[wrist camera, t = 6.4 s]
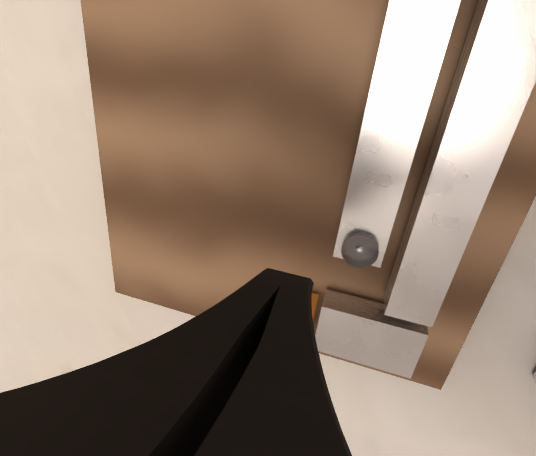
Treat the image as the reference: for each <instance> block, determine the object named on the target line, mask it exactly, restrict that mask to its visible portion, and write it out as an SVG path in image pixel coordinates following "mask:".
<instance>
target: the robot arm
mask: <svg viewBox="0 0 536 456" xmlns="http://www.w3.org/2000/svg"><path fill="white" fill-rule="evenodd" d="M313 285H314V282H313V281H312V280H311V278H307V277H303V276H299V275H295V274H291V273H287V272H283V271H279V270H275V269H270V268H267V269H265V270H263V271H262V272H261V273H259V274H258V275H256V276H255V277H254V278H252V279H251V280H250V281H248V282H247V283H246V284H244V285H243V286H242V287H240V288H239V289H237V290H236V291H235V292H233V293H232V294H230V295H229V296H227V297H226V298H224V299H223V300H221V301H220V302H218V303H217V304H215V305H214V306H212V307H211V308H209V309H207V310H206V311H204V312H202V313H201V314H199V315H197V316H196V317H194V318H192V319H191V320H189V321H187V322H186V323H184V324H182V325H180V326H178V327H176V328H175V329H173V330H171V331H169V332H167V333H165V334H163V335H161V336H159V337H157V338H155V339H152V340H150V341H148V342H146V343H144V344H142V345H139V346H137V347H134V348H132V349H129V350H127V351H124V352H122V353H119V354H117V355H115V356H112V357H110V358H107V359H105V360H102V361H100V362H97V363H94V364H92V365H89V366H86V367H83V368H80V369H77V370H75V371H72V372H69V373H66V374H63V375H60V376H56V377H53V378H50V379H47V380H44V381H41V382H38V383H34V384H31V385H27V386H24V387H21V388H17V389H13V390H10V391H6V392H2V393H0V456H352V455H351V452H350V450H349V447H348V445H347V442H346V440H345V437H344V435H343V432H342V430H341V427H340V424H339V421H338V418H337V415H336V413H335V410H334V407H333V404H332V401H331V397H330V394H329V391H328V388H327V384H326V381H325V377H324V374H323V370H322V366H321V362H320V357H319V353H318V348H317V343H316V338H315V331H314V324H313V317H312V290H313ZM533 377H534V380H535V381H536V371H535V373H534V375H533Z"/></svg>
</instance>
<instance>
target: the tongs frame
mask: <svg viewBox="0 0 536 456" xmlns="http://www.w3.org/2000/svg"><path fill="white" fill-rule="evenodd" d="M535 82H536V0H478V3H477V6H476V9H475V12H474V16H473V19H472V22H471V25H470V28H469V31H468V34H467V37H466V41H465V44H464V47H463V50H462V53H461V56H460V59H459V62H458V66H457V69H456V72H455V75H454V78H453V81H452V84H451V87H450V91H449V94H448V97H447V100H446V103H445V106H444V109H443V112H442V116H441V119H440V122H439V125H438V128H437V131H436V134H435V137H434V141H433V144H432V147H431V150H430V153H429V156H428V159H427V162H426V166H425V169H424V172H423V175H422V178H421V181H420V184H419V187H418V191H417V194H416V197H415V200H414V203H413V206H412V209H411V212H410V216H409V219H408V222H407V225H406V228H405V231H404V234H403V237H402V241H401V244H400V247H399V250H398V253H397V256H396V259H395V263H394V266H393V269H392V272H391V275H390V278H389V281H388V284H387V288H386V291H385V294H384V304H382V303H378V302H374V301H370V300H366V299H362V298H359V297H355V296H351V295H347V294H343V293H339V292H335V291H331V290H328V289H326V291H325V295H324V299H323V303H322V307H321V312H320V316H319V321H318V325H317V330H316V334H315V338H316V343H317V348H318V351H320V352H323V353H326V354H330V355H333V356H336V357H340V358H343V359H346V360H350V361H353V362H356V363H360V364H363V365H366V366H370V367H373V368H376V369H380V370H383V371H386V372H390V373H393V374H396V375H400V376H403V377H406V378H410V379H411V376H412V374H413V372H414V369H415V367H416V365H417V362H418V360H419V357H420V355H421V353H422V350H423V348H424V345H425V343H426V341H427V338H428V336H429V334H428V329H427V326H428V327H432V326H433V324H434V322H435V319H436V317H437V315H438V312H439V310H440V307H441V305H442V303H443V300H444V298H445V296H446V293H447V291H448V288H449V286H450V284H451V281H452V279H453V277H454V274H455V272H456V269H457V267H458V265H459V262H460V260H461V258H462V255H463V253H464V250H465V248H466V246H467V243H468V241H469V239H470V236H471V234H472V231H473V229H474V227H475V224H476V222H477V220H478V217H479V215H480V212H481V210H482V208H483V205H484V203H485V201H486V198H487V196H488V193H489V191H490V189H491V186H492V184H493V182H494V179H495V177H496V174H497V172H498V170H499V167H500V165H501V163H502V160H503V158H504V155H505V153H506V151H507V148H508V146H509V144H510V141H511V139H512V136H513V134H514V132H515V129H516V127H517V125H518V122H519V120H520V117H521V115H522V113H523V110H524V108H525V106H526V103H527V101H528V98H529V96H530V94H531V91H532V89H533V87H534V84H535Z"/></svg>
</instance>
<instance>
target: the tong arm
mask: <svg viewBox="0 0 536 456" xmlns="http://www.w3.org/2000/svg"><path fill="white" fill-rule="evenodd" d="M460 1H461V0H390V1H389V5H388V10H387V14H386V19H385V23H384V28H383V32H382V37H381V41H380V46H379V50H378V55H377V59H376V64H375V68H374V73H373V77H372V82H371V86H370V91H369V95H368V100H367V104H366V109H365V113H364V118H363V122H362V127H361V131H360V136H359V140H358V145H357V149H356V154H355V158H354V163H353V168H352V172H351V177H350V181H349V186H348V190H347V195H346V199H345V204H344V208H343V213H342V217H341V222H340V226H339V231H338V235H337V240H336V244H335V249H334V253H333V257H337V258H341V259H344V260H345V262H346V263H347V264H349V265H351V266H353V267H356V268H365V267H369V266H375V267H379V268H381V264H382V261H383V258H384V254H385V251H386V248H387V244H388V241H389V238H390V234H391V231H392V228H393V224H394V221H395V218H396V214H397V211H398V208H399V204H400V201H401V198H402V194H403V191H404V188H405V184H406V181H407V178H408V174H409V171H410V168H411V164H412V161H413V158H414V154H415V151H416V148H417V144H418V141H419V138H420V134H421V131H422V128H423V124H424V121H425V118H426V114H427V111H428V108H429V104H430V101H431V98H432V94H433V91H434V88H435V84H436V81H437V78H438V74H439V71H440V68H441V64H442V61H443V58H444V54H445V51H446V48H447V44H448V41H449V38H450V34H451V31H452V28H453V25H454V21H455V18H456V15H457V11H458V8H459V5H460Z"/></svg>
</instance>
